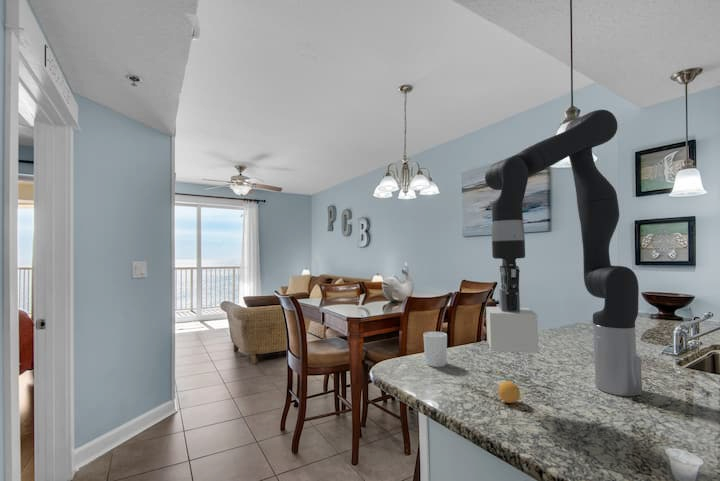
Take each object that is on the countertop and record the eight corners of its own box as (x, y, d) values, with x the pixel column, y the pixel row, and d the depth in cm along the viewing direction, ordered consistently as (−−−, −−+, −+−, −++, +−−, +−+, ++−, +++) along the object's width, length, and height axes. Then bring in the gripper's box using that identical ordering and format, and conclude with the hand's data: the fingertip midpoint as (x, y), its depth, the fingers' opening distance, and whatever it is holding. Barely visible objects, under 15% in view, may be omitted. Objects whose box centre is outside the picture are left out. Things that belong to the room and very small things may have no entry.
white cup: (448, 368, 111) (447, 337, 112) (423, 367, 113) (423, 336, 113) (447, 360, 119) (446, 331, 120) (424, 359, 121) (423, 331, 121)
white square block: (529, 341, 88) (527, 288, 89) (538, 353, 78) (536, 292, 79) (487, 340, 91) (485, 287, 91) (491, 350, 81) (489, 291, 81)
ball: (520, 403, 81) (519, 406, 85) (520, 381, 84) (519, 385, 88) (498, 399, 83) (497, 402, 87) (498, 377, 86) (498, 381, 90)
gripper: (530, 237, 78) (533, 314, 77) (519, 240, 91) (521, 304, 91) (495, 238, 80) (497, 313, 79) (489, 240, 93) (491, 304, 93)
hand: (510, 308), depth 85 cm, fingers closed on white square block, 4 cm apart
